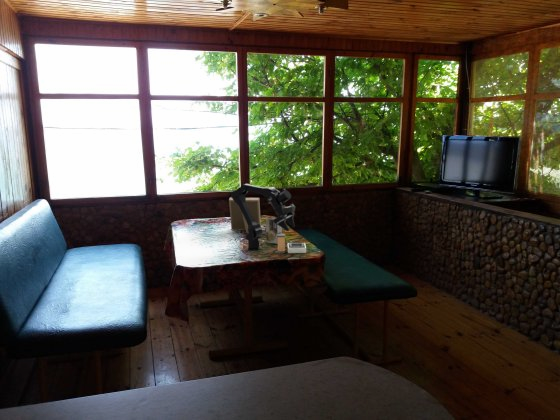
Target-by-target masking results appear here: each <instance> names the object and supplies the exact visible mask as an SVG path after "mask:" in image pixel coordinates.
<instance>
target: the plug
mask: <svg viewBox="0 0 560 420" xmlns="http://www.w3.org/2000/svg"><path fill="white" fill-rule="evenodd" d="M277 237H278V244H277V252H286V234H285V233H282V234H277Z"/></svg>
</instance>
